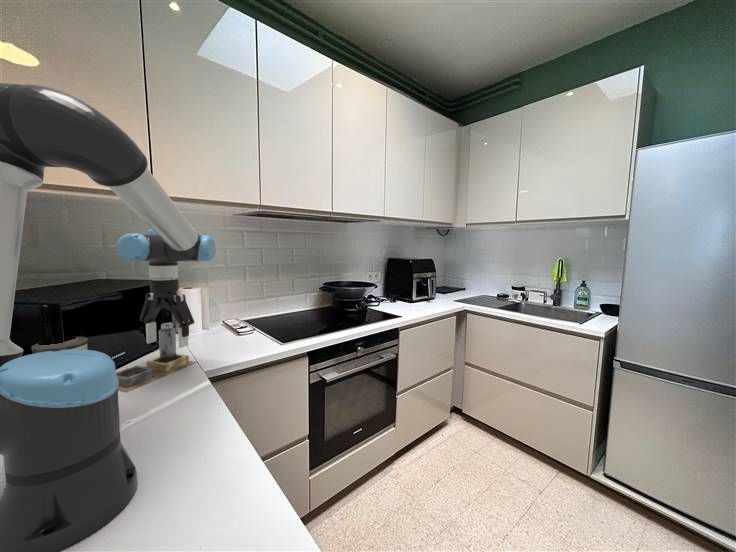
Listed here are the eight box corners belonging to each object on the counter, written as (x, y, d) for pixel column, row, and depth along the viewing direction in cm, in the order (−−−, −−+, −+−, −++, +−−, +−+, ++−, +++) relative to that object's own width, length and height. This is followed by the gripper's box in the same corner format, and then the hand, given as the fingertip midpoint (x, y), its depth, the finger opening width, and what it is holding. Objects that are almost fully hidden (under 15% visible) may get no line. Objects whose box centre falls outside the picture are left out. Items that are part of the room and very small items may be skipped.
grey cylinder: (167, 369, 90) (165, 326, 89) (156, 367, 92) (154, 324, 90) (180, 364, 95) (178, 322, 93) (169, 362, 96) (168, 321, 95)
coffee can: (25, 405, 71) (20, 350, 70) (51, 387, 81) (47, 338, 80) (79, 397, 76) (75, 345, 74) (97, 381, 85) (94, 335, 84)
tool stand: (126, 397, 76) (126, 383, 75) (95, 391, 79) (94, 377, 79) (197, 366, 97) (197, 354, 96) (170, 362, 100) (170, 351, 100)
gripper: (205, 279, 91) (207, 344, 93) (147, 276, 98) (150, 337, 100) (184, 281, 84) (187, 352, 85) (123, 278, 91) (127, 343, 92)
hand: (167, 344), depth 93 cm, fingers open, 13 cm apart
